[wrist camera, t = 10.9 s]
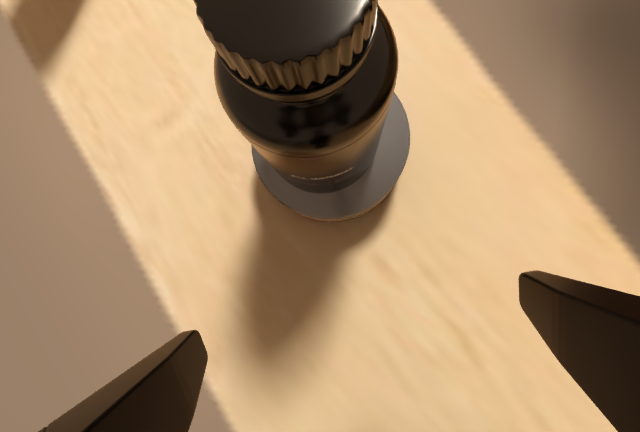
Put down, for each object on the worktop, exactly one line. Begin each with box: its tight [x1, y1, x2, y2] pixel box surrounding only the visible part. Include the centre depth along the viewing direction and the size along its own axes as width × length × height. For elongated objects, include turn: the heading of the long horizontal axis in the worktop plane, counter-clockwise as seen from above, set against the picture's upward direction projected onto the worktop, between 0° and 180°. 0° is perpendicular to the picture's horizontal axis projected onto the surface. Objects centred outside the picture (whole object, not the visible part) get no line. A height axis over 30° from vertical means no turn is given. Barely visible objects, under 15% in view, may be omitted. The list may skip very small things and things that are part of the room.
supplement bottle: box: [194, 0, 398, 194], centre depth 13 cm, size 7×7×12 cm
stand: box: [251, 92, 410, 222], centre depth 21 cm, size 10×10×3 cm
